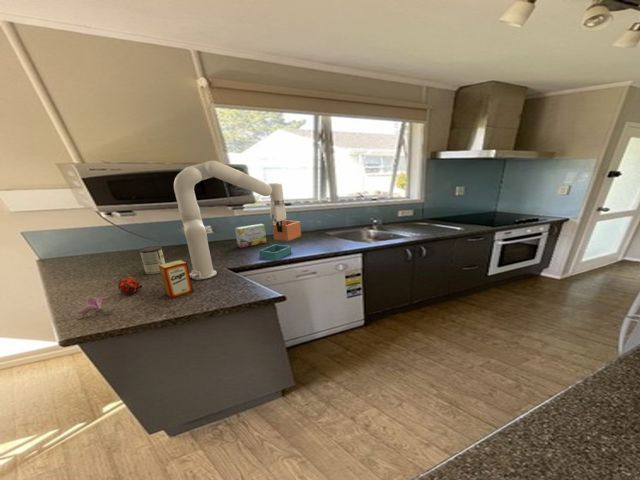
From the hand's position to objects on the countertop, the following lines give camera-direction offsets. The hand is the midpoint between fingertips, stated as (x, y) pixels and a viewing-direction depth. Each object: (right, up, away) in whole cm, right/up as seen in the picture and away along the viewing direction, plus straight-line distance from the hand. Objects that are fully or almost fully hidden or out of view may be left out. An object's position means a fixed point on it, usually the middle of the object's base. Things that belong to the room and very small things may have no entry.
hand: (280, 231), depth 183 cm
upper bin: (+2, -3, +8) cm, 9 cm away
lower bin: (-9, -16, +16) cm, 24 cm away
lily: (-56, -41, -61) cm, 92 cm away
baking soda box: (-36, -35, -40) cm, 64 cm away
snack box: (-37, -7, +42) cm, 57 cm away
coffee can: (-70, -25, -13) cm, 75 cm away
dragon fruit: (-60, -34, -40) cm, 80 cm away
